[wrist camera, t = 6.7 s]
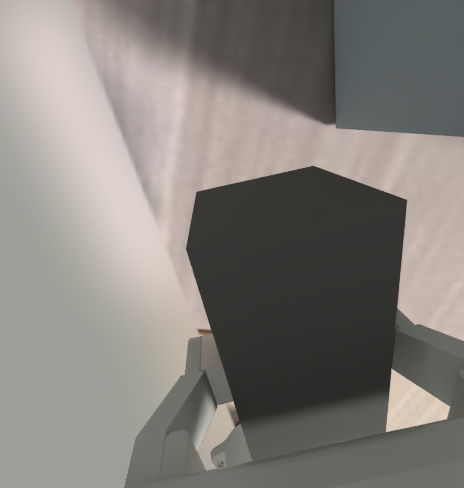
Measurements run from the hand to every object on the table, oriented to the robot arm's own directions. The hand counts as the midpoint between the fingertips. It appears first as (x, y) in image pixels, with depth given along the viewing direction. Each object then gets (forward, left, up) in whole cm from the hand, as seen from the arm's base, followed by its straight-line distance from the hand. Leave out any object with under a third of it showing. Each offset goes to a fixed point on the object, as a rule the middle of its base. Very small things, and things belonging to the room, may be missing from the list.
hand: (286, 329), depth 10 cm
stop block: (+2, 0, -2) cm, 3 cm away
